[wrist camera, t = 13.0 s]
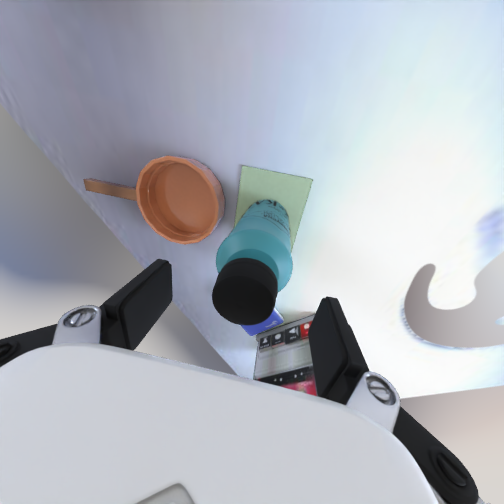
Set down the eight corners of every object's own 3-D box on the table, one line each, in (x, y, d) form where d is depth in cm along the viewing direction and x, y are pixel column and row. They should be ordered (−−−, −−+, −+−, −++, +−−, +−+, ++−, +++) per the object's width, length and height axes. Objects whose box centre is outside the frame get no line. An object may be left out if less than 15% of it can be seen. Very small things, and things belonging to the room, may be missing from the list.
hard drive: (283, 322, 36) (244, 276, 33) (250, 337, 39) (211, 295, 36) (283, 316, 37) (245, 271, 34) (251, 331, 40) (213, 290, 37)
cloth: (231, 247, 32) (231, 247, 32) (242, 165, 26) (242, 165, 26) (288, 259, 32) (288, 260, 31) (312, 179, 26) (313, 179, 26)
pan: (154, 227, 33) (140, 234, 30) (148, 150, 27) (131, 148, 24) (221, 242, 32) (214, 251, 29) (229, 166, 27) (222, 166, 24)
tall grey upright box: (316, 311, 36) (375, 563, 13) (330, 332, 37) (402, 586, 15) (256, 333, 40) (224, 544, 18) (270, 351, 42) (258, 563, 20)
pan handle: (92, 189, 29) (85, 190, 28) (90, 178, 28) (83, 178, 27) (144, 200, 28) (138, 201, 27) (143, 189, 28) (137, 190, 27)
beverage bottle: (278, 243, 30) (273, 358, 12) (240, 227, 30) (180, 322, 12) (296, 205, 27) (324, 285, 10) (254, 188, 27) (202, 237, 9)
